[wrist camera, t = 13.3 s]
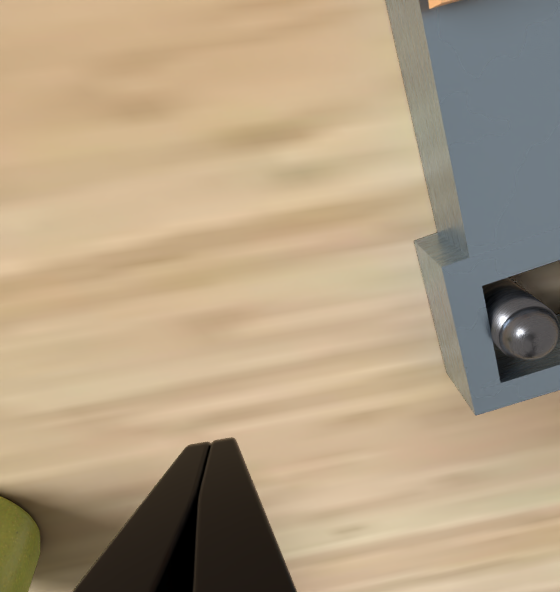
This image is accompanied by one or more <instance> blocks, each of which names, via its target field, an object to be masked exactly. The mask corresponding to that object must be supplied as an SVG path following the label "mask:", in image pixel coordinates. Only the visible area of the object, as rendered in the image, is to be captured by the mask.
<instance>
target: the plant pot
mask: <svg viewBox="0 0 560 592" xmlns="http://www.w3.org/2000/svg"><path fill="white" fill-rule="evenodd" d="M39 556H40V531H39V528H38V526H37V524H36V523H35V521H34V520H33V519H32V518H31V516H30V515H29V514H28V513H27V512H26V511H24V510H23V509H22V508H21V507H19V506H18V505H16V504H14V503H13V502H11V501H9V500H7V499H5V498H3V497H1V496H0V592H28V590H29V587H30V584H31V581H32V578H33V575H34V572H35V568H36V565H37V562H38V559H39Z"/></svg>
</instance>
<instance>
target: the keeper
mask: <svg viewBox="0 0 560 592" xmlns="http://www.w3.org/2000/svg"><path fill="white" fill-rule="evenodd" d="M457 1H460V0H428V2H429V9H432V8H435V7H439V6H442V5H446V4H450V3H453V2H457Z"/></svg>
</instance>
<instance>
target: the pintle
mask: <svg viewBox="0 0 560 592" xmlns="http://www.w3.org/2000/svg"><path fill="white" fill-rule="evenodd" d="M482 289H483V294H484V299H485V304H486V310H487V315H488V320H489V325H490V330H491V336H492V341H493V342H494V343H495V345H496V346H497V347H498V348H499V349H500V350H501V351H502V352H503V353H504V354H506V355H507V356H509V357H512V358H518V359H522V360H535V359H539V358H542V357H544V356H546V355H547V354H549V353H550V352H551V351H552V350H553V349H554V348H555V347H556V345H557V343H558V341H559V337H560V327H559V324H558V319H557V316H556V314H555V313H554V312H553V311H552V310H551V309H550V308H548V307H547V306H546V305H544V304H543V303H541V302H540V301H539V300H537V299H536V298H535V297H533V296H532V295H531V294H529V293H528V292H527V291H525V290H524V289H523V288H521V287H520V286H519V285H517V284H516V283H514V282H513V281H512V280H510V279H509V278H508V277H507V278H504V279H501V280H498V281H495V282H492V283H489V284H486V285H483V286H482Z"/></svg>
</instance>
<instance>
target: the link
mask: <svg viewBox="0 0 560 592" xmlns="http://www.w3.org/2000/svg"><path fill="white" fill-rule="evenodd" d="M385 1H386V5H387V10H388V14H389V19H390V23H391V28H392V32H393V37H394V41H395V46H396V50H397V54H398V59H399V63H400V68H401V72H402V77H403V81H404V86H405V90H406V94H407V99H408V103H409V108H410V112H411V117H412V121H413V126H414V130H415V135H416V139H417V143H418V148H419V152H420V157H421V161H422V166H423V170H424V175H425V179H426V183H427V188H428V192H429V197H430V201H431V206H432V210H433V215H434V219H435V224H436V228H437V233H434V234H432V235H429V236H426V237H423V238H420V239H417V240H415V241H414V244H415V248H416V252H417V256H418V260H419V264H420V268H421V272H422V276H423V280H424V284H425V288H426V292H427V296H428V300H429V304H430V308H431V312H432V316H433V320H434V324H435V328H436V332H437V336H438V340H439V344H440V348H441V352H442V356H443V360H444V364H445V368H446V372H447V374H448V376H449V377H450V379H451V380H452V382H453V383H454V384H455V386H456V387H457V389H458V390H459V392H460V393H461V395H462V396H463V398H464V399H465V401H466V402H467V404H468V405H469V407H470V408H471V410H472V411H473V413H474V414H475V416H476V415H479V414H482V413H486V412H489V411H492V410H496V409H499V408H502V407H505V406H509V405H512V404H515V403H518V402H522V401H525V400H528V399H532V398H535V397H538V396H541V395H545V394H548V393H551V392H554V391H558V390H560V337H559V341H558V343H557V345H556V347H555V348H554V349H553V350H552V351H551V352H550V353H549V354H547V355H546V356H544V357H542V358H539V359H535V360H522V359H518V358H512V357H509V356H507V355H506V354H504V353H503V352H502V351H501V350H500V349H499V348H498V347H497V346H496V345H495V343H494V342H493V341H492V336H491V330H490V325H489V320H488V315H487V310H486V304H485V299H484V294H483V289H482V286H483V285H486V284H489V283H492V282H495V281H498V280H501V279H504V278H507V277H510V276H513V275H516V274H519V273H522V272H525V271H528V270H531V269H534V268H537V267H540V266H543V265H546V264H549V263H552V262H555V261H558V260H560V0H460V1H457V2H453V3H450V4H446V5H442V6H439V7H435V8H432V9H429V2H428V0H385ZM556 316H557V319H558V324H559V327H560V314H557V315H556Z"/></svg>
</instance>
